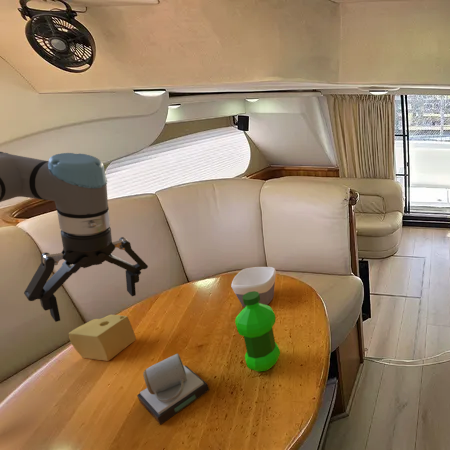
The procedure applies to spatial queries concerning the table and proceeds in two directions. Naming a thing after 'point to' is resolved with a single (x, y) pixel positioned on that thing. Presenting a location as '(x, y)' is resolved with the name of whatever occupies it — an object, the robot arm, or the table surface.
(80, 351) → the cheese
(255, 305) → the plastic bottle
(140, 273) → the robot arm
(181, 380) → the ceramic mug
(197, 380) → the scale
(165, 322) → the table surface
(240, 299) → the bowl
